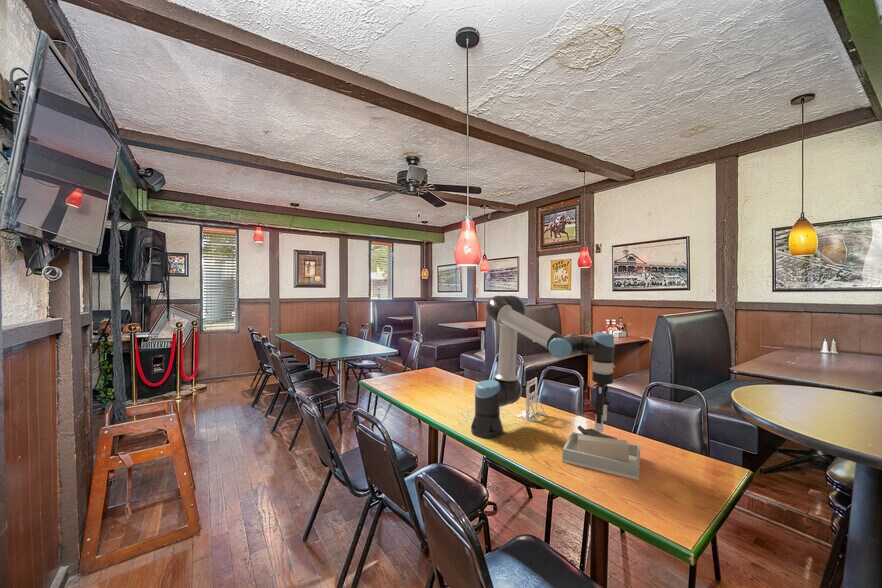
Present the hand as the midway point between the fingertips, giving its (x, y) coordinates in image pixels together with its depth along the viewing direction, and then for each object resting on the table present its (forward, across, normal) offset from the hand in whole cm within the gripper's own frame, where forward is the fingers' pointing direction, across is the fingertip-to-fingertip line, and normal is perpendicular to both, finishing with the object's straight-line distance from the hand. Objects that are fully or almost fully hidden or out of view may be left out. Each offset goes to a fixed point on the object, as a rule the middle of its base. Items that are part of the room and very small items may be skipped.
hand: (600, 425), depth 140 cm
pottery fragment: (+14, +22, +3) cm, 26 cm away
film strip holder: (+15, +35, +38) cm, 54 cm away
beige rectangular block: (+12, 0, -1) cm, 12 cm away
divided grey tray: (+14, 0, -1) cm, 14 cm away
